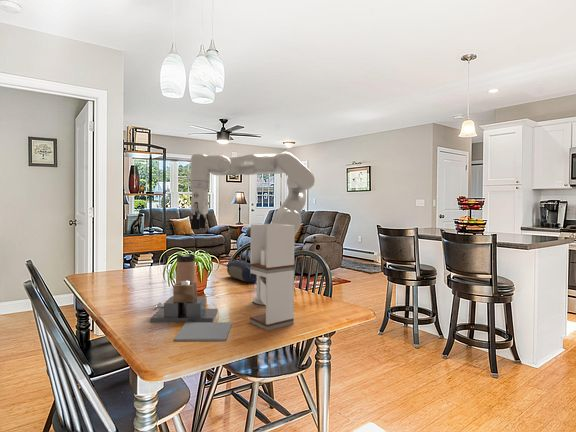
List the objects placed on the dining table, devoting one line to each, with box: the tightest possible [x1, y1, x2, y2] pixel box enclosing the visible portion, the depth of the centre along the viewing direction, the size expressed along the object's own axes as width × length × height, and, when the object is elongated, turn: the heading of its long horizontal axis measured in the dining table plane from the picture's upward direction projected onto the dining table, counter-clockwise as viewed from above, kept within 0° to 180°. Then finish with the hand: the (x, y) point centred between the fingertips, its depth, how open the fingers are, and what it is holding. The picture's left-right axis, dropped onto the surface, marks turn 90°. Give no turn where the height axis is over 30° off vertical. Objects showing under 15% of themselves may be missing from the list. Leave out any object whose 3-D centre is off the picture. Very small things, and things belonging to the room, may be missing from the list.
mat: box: [173, 321, 233, 342], centre depth 124 cm, size 16×16×1 cm
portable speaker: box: [226, 259, 257, 284], centre depth 207 cm, size 25×10×10 cm, turn 36°
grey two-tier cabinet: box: [249, 223, 296, 331], centre depth 133 cm, size 11×11×35 cm
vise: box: [149, 280, 219, 323], centre depth 139 cm, size 22×12×14 cm, turn 92°
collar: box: [172, 281, 198, 302], centre depth 139 cm, size 7×7×6 cm
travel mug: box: [176, 253, 196, 283], centre depth 161 cm, size 8×8×20 cm
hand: (198, 228), depth 149 cm, fingers open, 9 cm apart
